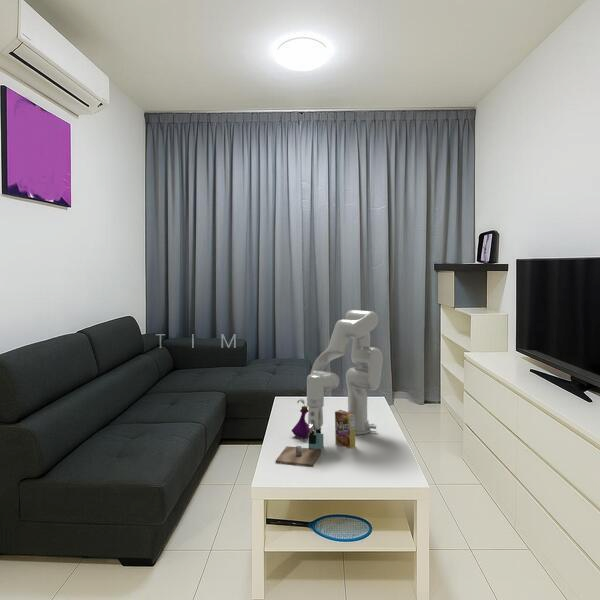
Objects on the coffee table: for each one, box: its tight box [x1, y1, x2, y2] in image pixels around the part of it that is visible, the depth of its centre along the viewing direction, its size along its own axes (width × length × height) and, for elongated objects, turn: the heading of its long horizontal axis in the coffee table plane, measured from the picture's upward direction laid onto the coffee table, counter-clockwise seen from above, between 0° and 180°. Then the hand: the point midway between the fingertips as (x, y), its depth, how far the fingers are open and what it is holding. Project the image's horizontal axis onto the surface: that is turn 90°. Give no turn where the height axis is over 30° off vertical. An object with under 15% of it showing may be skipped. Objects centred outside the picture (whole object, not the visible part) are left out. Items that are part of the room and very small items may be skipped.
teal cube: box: [307, 432, 325, 451], centre depth 206 cm, size 6×6×6 cm
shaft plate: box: [274, 445, 322, 468], centre depth 197 cm, size 16×16×4 cm
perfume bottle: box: [291, 398, 309, 439], centre depth 221 cm, size 8×8×18 cm
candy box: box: [334, 409, 356, 449], centre depth 210 cm, size 9×4×15 cm, turn 45°
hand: (314, 439), depth 206 cm, fingers open, 9 cm apart
